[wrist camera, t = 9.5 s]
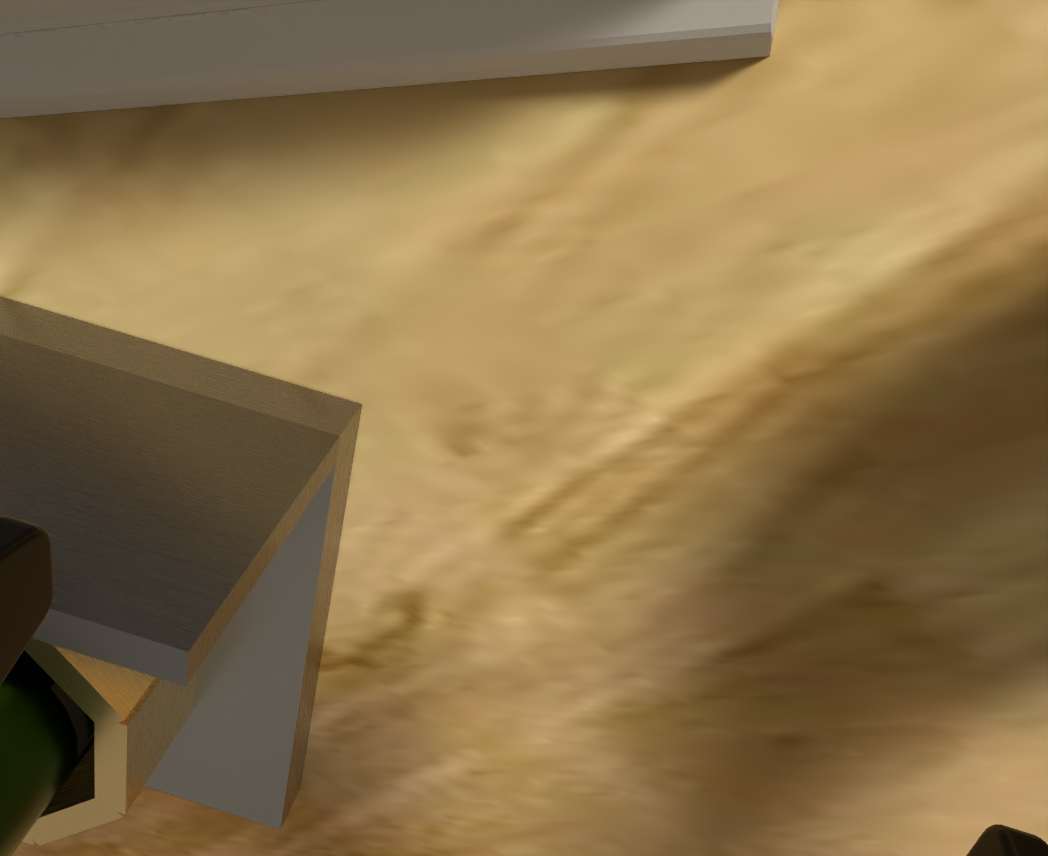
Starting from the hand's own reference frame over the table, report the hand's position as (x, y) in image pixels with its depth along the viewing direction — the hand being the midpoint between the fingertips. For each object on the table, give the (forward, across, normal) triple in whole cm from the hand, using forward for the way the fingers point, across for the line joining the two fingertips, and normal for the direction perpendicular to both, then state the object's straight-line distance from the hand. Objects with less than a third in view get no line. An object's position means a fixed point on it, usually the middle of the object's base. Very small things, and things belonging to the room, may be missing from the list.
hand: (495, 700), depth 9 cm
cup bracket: (+12, +12, +12) cm, 21 cm away
